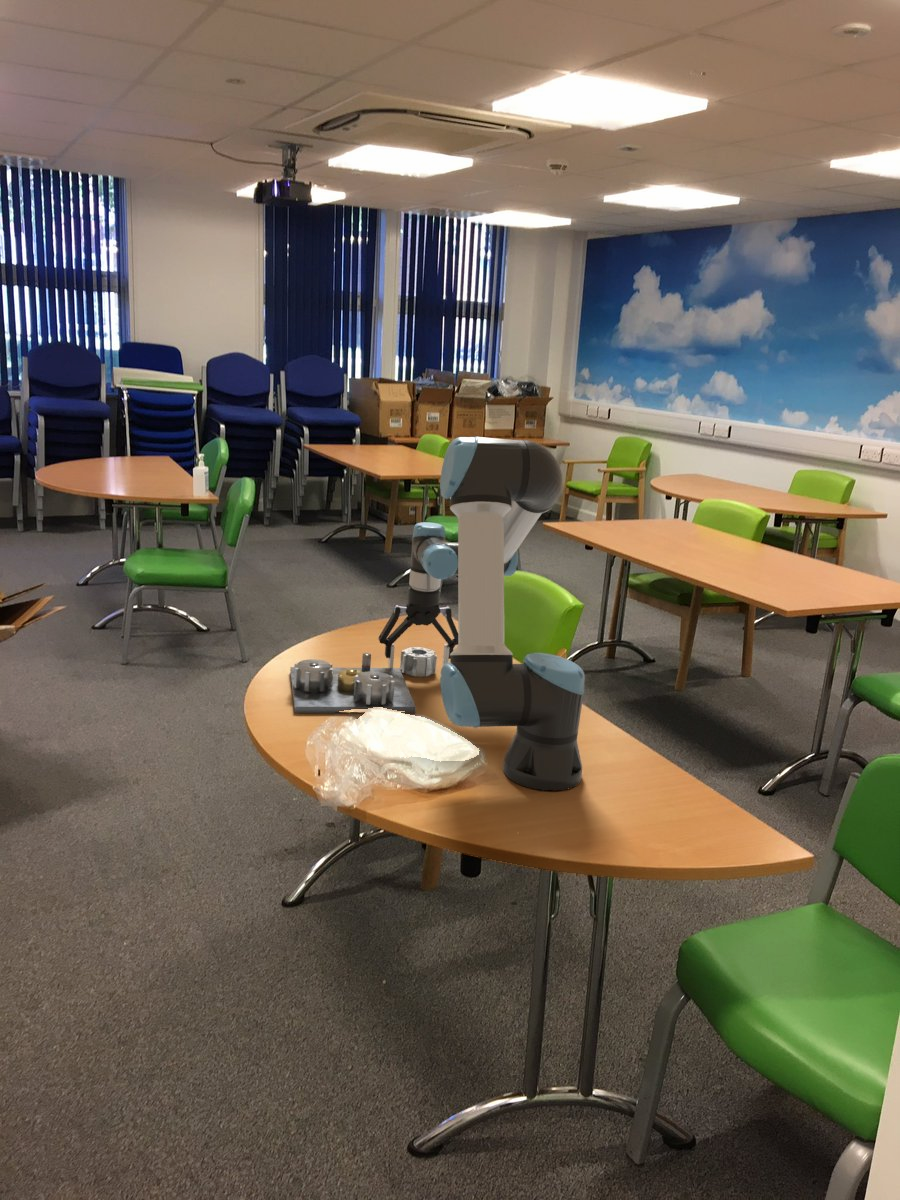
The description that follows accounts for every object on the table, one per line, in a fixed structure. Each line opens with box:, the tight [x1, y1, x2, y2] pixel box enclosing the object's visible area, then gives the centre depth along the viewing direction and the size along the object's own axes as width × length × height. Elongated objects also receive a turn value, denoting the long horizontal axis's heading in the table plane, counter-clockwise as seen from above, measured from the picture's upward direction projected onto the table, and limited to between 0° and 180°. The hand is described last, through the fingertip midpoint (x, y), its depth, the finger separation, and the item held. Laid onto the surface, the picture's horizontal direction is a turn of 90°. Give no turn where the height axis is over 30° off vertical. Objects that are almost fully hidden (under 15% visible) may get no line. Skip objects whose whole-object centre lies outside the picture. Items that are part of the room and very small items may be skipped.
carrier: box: [289, 652, 417, 714], centre depth 210 cm, size 24×26×7 cm
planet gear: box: [399, 646, 438, 678], centre depth 228 cm, size 8×8×5 cm
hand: (417, 670), depth 228 cm, fingers open, 13 cm apart
